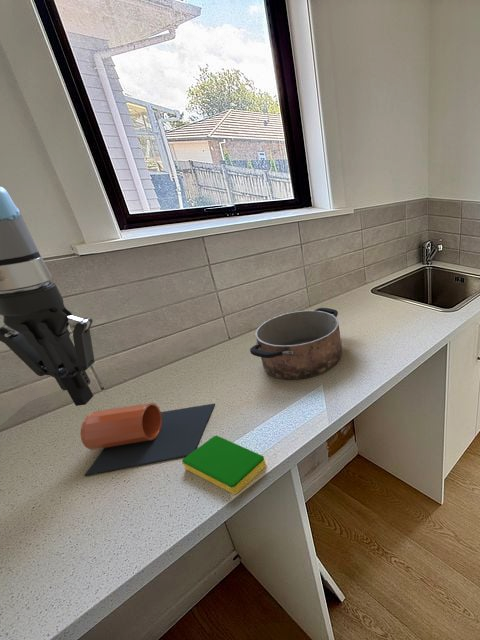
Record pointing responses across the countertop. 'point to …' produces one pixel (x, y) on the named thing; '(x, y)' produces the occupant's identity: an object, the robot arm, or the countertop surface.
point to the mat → (158, 442)
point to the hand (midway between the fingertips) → (85, 400)
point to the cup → (121, 426)
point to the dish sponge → (224, 464)
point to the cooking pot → (299, 343)
